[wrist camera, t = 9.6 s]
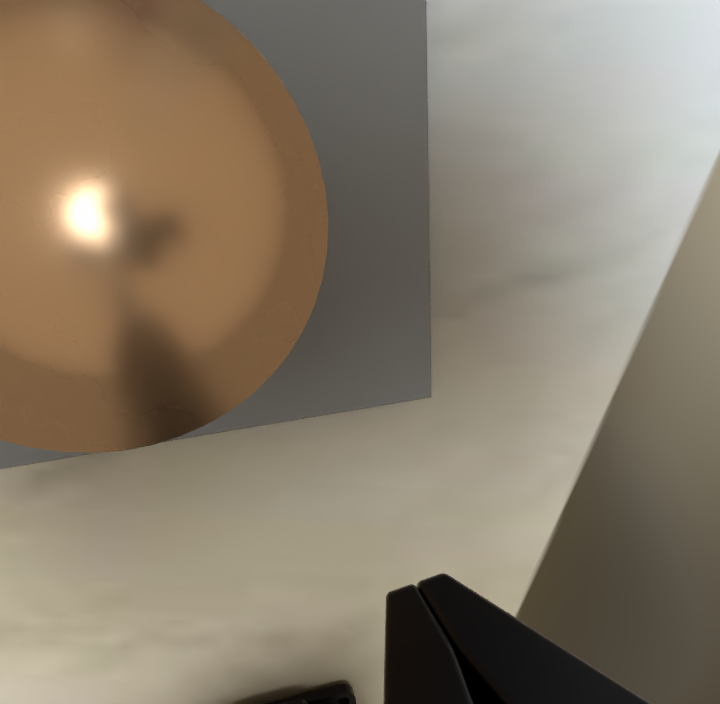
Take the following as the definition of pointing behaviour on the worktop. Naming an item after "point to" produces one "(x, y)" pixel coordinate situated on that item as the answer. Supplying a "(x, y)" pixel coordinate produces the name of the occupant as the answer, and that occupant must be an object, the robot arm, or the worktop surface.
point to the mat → (346, 208)
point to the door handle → (145, 221)
